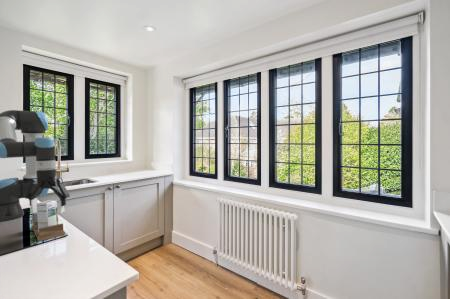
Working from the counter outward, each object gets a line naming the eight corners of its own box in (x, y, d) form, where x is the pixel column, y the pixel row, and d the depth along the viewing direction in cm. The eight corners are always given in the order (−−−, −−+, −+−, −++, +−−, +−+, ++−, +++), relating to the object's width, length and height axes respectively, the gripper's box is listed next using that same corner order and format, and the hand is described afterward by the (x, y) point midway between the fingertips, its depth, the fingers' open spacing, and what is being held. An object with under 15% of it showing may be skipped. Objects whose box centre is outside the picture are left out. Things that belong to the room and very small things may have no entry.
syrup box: (48, 233, 111) (47, 203, 110) (37, 233, 112) (36, 203, 111) (58, 229, 117) (57, 200, 116) (48, 228, 117) (47, 199, 117)
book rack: (32, 229, 121) (31, 211, 121) (55, 224, 128) (54, 207, 128) (38, 241, 105) (37, 220, 105) (65, 235, 113) (64, 215, 112)
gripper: (13, 170, 109) (16, 215, 110) (66, 170, 109) (68, 214, 110) (27, 168, 117) (29, 210, 118) (76, 168, 117) (78, 209, 118)
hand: (48, 212), depth 114 cm, fingers open, 13 cm apart
